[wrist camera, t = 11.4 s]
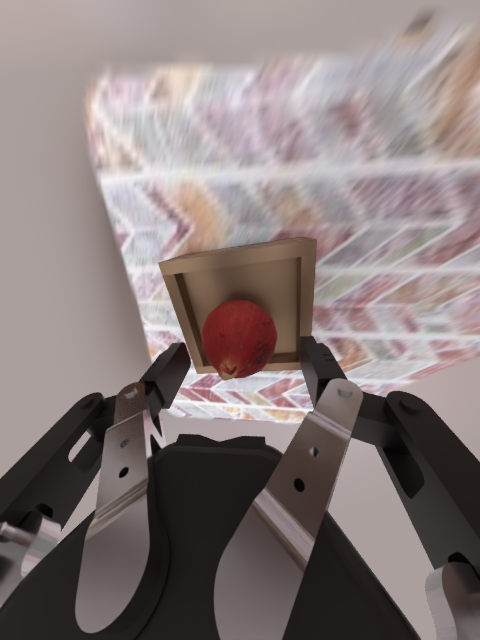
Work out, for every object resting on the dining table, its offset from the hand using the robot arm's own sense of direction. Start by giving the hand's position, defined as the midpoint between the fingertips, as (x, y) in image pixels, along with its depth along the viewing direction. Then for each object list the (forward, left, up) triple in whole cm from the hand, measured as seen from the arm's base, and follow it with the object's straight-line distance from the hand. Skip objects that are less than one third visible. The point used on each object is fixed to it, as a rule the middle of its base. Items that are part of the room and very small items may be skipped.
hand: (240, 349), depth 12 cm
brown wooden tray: (0, 0, -10) cm, 10 cm away
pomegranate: (0, 0, -6) cm, 6 cm away
